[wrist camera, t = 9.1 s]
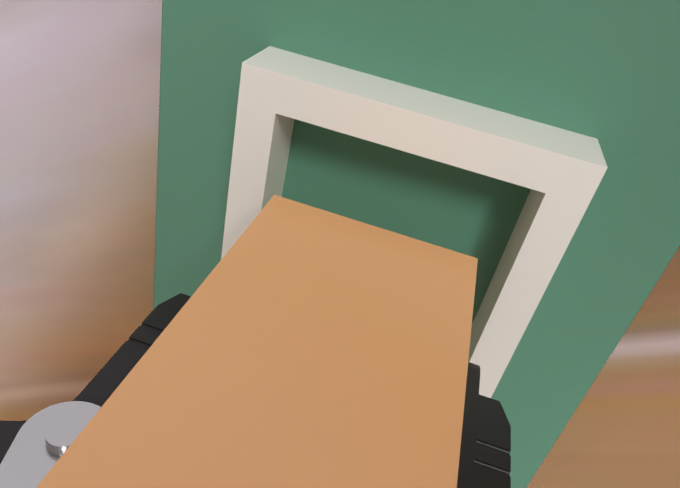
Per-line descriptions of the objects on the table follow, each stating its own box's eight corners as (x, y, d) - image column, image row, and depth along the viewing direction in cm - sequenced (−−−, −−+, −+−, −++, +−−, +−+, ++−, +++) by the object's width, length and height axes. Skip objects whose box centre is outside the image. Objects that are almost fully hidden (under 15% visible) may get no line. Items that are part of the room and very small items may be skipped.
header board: (790, 3, 11) (872, 33, 8) (507, 477, 19) (506, 564, 17) (202, -143, 12) (121, -155, 10) (173, 360, 20) (125, 424, 18)
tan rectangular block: (478, 258, 11) (437, 691, 5) (397, 454, 14) (313, 861, 8) (274, 194, 11) (8, 522, 5) (240, 399, 14) (50, 746, 8)
